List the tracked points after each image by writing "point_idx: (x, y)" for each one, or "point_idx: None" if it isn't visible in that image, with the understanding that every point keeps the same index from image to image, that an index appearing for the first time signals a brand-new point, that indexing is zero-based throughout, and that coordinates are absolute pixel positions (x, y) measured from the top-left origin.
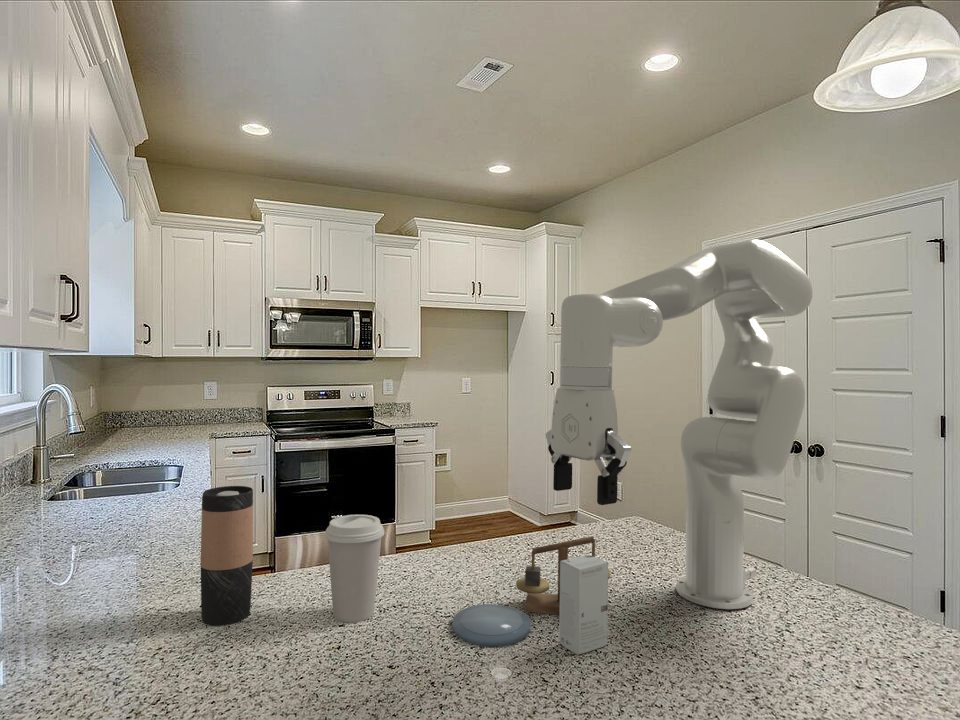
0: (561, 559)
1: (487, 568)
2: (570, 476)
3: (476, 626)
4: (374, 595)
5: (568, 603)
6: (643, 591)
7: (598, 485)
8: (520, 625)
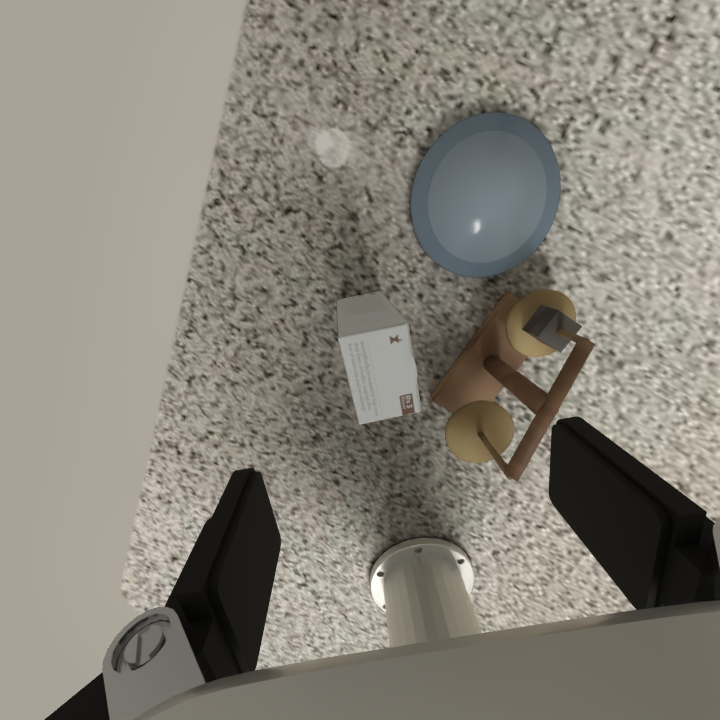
0: (525, 388)
1: (713, 308)
2: (588, 539)
3: (475, 157)
4: None
5: (364, 309)
6: (477, 503)
7: (218, 535)
8: (443, 245)
